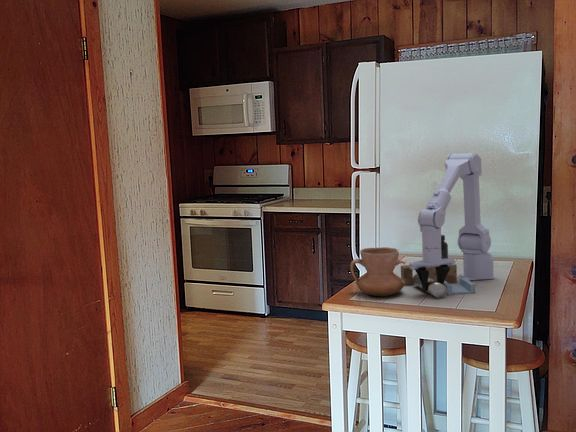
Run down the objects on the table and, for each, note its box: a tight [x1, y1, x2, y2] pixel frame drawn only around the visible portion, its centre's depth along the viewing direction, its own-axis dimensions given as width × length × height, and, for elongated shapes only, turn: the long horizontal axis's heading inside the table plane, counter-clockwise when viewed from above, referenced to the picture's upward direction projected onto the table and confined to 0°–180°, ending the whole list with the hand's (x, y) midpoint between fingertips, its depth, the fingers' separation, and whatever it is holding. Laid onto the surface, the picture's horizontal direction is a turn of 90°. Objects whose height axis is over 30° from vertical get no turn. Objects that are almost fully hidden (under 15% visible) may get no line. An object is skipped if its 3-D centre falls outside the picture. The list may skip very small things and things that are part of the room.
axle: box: [412, 273, 447, 300], centre depth 175 cm, size 4×16×4 cm, turn 11°
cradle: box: [444, 277, 476, 296], centre depth 175 cm, size 9×9×3 cm
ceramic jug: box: [350, 246, 407, 297], centre depth 176 cm, size 18×14×14 cm
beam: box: [400, 263, 458, 287], centre depth 186 cm, size 18×4×6 cm, turn 93°
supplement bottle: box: [441, 234, 449, 259], centre depth 209 cm, size 7×7×12 cm
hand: (432, 289), depth 172 cm, fingers closed on axle, 4 cm apart
